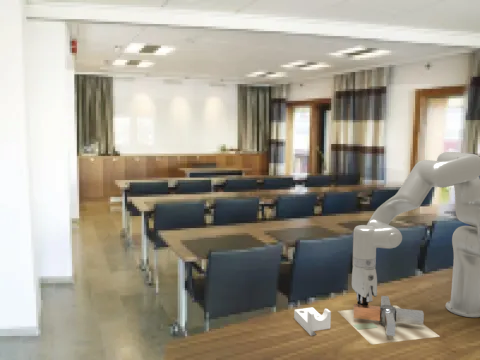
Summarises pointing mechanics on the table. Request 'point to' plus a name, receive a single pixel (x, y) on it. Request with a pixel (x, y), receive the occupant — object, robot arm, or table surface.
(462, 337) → the table surface
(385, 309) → the capstan
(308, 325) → the bracket
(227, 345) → the table surface
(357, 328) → the base plate
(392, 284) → the table surface
